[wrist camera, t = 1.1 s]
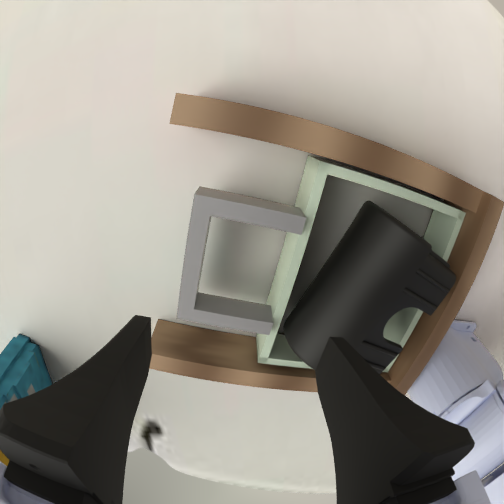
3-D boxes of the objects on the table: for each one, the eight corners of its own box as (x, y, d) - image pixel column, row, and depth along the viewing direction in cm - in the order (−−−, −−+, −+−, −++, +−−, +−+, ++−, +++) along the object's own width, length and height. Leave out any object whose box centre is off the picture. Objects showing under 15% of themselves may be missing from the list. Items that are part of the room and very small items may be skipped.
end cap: (350, 187, 19) (395, 218, 13) (418, 235, 21) (469, 275, 15) (276, 302, 23) (287, 365, 16) (347, 332, 24) (372, 390, 18)
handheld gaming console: (13, 329, 24) (-56, 427, 10) (41, 339, 24) (-27, 450, 10) (36, 387, 27) (-8, 477, 14) (62, 397, 28) (21, 494, 14)
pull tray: (442, 201, 19) (470, 215, 16) (376, 349, 25) (389, 376, 22) (212, 133, 17) (206, 135, 14) (181, 323, 23) (173, 353, 20)
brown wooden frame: (463, 184, 19) (504, 202, 14) (382, 363, 26) (400, 400, 21) (189, 99, 17) (171, 91, 12) (157, 334, 24) (142, 377, 19)
